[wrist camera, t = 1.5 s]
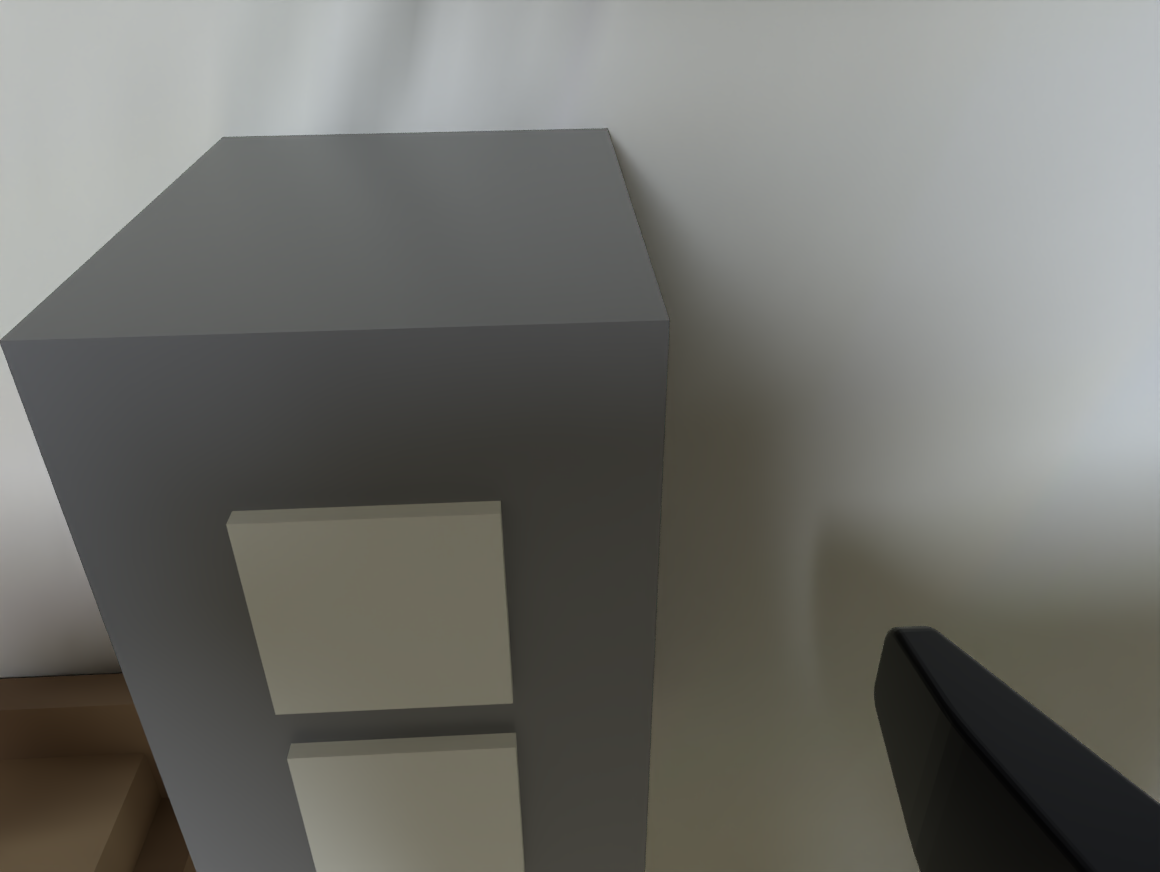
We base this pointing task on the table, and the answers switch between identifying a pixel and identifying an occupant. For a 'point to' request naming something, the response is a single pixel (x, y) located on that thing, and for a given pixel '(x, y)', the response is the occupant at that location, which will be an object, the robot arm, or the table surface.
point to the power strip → (374, 496)
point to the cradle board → (81, 781)
